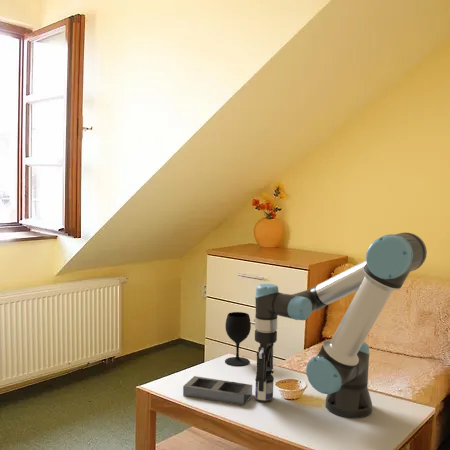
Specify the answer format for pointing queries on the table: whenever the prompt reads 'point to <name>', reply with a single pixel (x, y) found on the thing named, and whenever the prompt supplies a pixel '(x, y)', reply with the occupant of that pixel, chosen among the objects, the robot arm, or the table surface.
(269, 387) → the pill bottle
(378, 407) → the table surface
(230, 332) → the wine glass
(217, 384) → the rectangular frame
